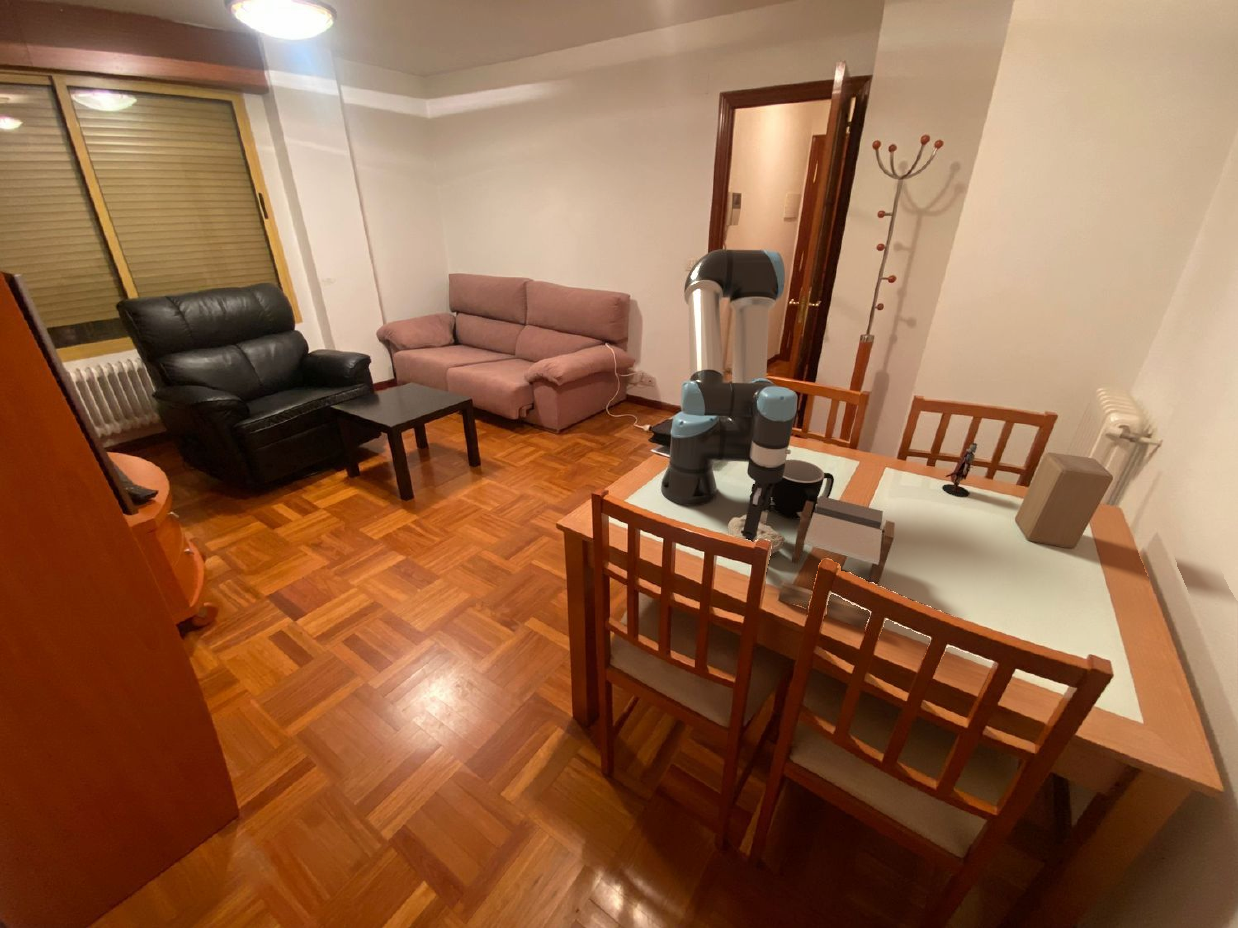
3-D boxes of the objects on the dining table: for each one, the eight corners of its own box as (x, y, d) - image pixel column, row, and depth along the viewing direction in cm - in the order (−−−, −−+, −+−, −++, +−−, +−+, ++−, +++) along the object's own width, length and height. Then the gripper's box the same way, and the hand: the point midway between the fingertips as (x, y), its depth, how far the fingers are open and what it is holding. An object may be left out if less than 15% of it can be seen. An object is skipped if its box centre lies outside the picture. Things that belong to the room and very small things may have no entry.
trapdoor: (802, 551, 100) (804, 539, 98) (816, 506, 115) (819, 495, 113) (875, 573, 94) (879, 560, 93) (880, 522, 109) (883, 511, 108)
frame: (778, 600, 101) (789, 548, 95) (795, 547, 116) (806, 500, 110) (872, 631, 94) (891, 578, 88) (878, 571, 109) (894, 522, 103)
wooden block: (1058, 527, 125) (1095, 456, 116) (1076, 550, 117) (1117, 476, 108) (1012, 519, 128) (1044, 450, 119) (1026, 541, 120) (1061, 468, 110)
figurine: (969, 499, 137) (989, 450, 130) (939, 492, 140) (957, 444, 133) (968, 488, 142) (987, 441, 135) (939, 482, 145) (956, 435, 138)
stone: (749, 572, 114) (773, 551, 107) (716, 528, 119) (737, 505, 112) (769, 560, 118) (794, 539, 111) (737, 518, 123) (758, 495, 116)
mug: (778, 487, 141) (786, 449, 135) (834, 510, 131) (844, 470, 125) (747, 509, 131) (753, 469, 125) (804, 536, 121) (813, 493, 115)
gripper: (773, 487, 96) (757, 577, 107) (795, 444, 113) (778, 525, 124) (735, 477, 99) (723, 566, 110) (762, 437, 116) (748, 517, 127)
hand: (752, 544), depth 117 cm, fingers open, 9 cm apart
